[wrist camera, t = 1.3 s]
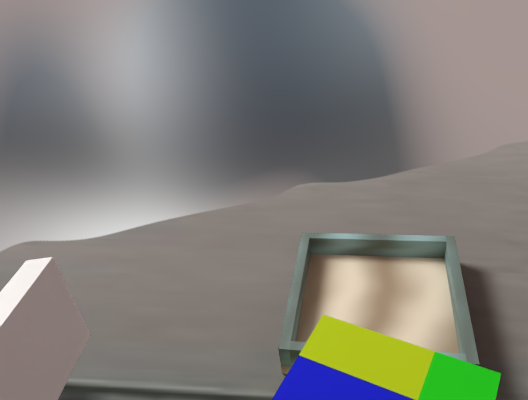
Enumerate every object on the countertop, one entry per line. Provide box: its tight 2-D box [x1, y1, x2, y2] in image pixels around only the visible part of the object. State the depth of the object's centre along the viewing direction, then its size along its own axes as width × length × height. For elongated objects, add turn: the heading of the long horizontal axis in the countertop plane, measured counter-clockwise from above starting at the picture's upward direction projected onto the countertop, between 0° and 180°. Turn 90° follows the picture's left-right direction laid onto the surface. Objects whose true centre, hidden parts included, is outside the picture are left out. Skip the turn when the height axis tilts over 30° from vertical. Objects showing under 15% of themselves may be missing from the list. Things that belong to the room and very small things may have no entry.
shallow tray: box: [279, 233, 479, 374], centre depth 42 cm, size 14×14×3 cm
